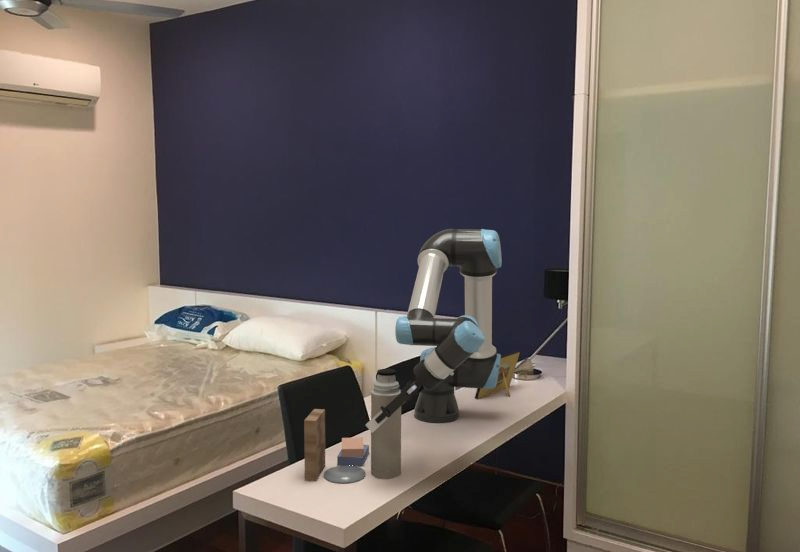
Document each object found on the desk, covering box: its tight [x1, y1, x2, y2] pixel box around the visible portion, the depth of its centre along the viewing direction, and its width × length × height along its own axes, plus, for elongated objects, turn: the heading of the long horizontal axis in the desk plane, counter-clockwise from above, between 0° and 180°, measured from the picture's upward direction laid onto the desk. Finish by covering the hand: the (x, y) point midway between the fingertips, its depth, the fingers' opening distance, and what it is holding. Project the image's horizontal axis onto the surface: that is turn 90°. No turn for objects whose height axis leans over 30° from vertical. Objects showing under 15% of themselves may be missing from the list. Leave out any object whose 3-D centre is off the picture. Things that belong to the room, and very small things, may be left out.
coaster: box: [323, 465, 367, 485], centre depth 181 cm, size 11×11×1 cm
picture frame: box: [474, 350, 521, 400], centre depth 257 cm, size 23×9×15 cm, turn 141°
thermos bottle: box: [370, 368, 402, 480], centre depth 181 cm, size 8×8×28 cm
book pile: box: [336, 437, 370, 467], centre depth 192 cm, size 10×8×5 cm
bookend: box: [303, 408, 326, 482], centre depth 181 cm, size 10×3×16 cm, turn 172°
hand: (377, 420), depth 182 cm, fingers open, 13 cm apart
